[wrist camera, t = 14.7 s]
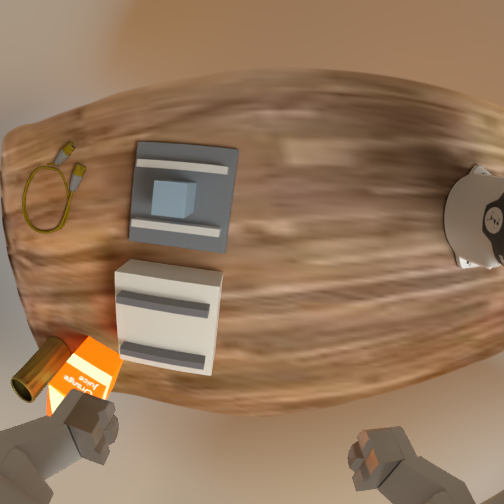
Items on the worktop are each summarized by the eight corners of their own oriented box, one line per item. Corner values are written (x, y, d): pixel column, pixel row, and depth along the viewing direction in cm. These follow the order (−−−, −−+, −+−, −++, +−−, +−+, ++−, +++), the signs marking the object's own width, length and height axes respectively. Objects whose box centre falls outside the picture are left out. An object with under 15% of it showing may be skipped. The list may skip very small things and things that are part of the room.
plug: (196, 182, 37) (187, 183, 31) (193, 212, 38) (184, 218, 32) (167, 179, 37) (154, 180, 31) (164, 209, 38) (151, 214, 32)
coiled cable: (101, 210, 39) (94, 211, 37) (35, 242, 40) (29, 244, 38) (81, 137, 36) (74, 136, 34) (18, 178, 37) (11, 179, 35)
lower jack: (239, 150, 37) (238, 148, 34) (225, 251, 41) (224, 257, 38) (140, 142, 36) (132, 140, 34) (131, 239, 40) (123, 243, 37)
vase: (49, 356, 45) (13, 396, 31) (45, 332, 44) (4, 370, 30) (72, 366, 46) (38, 410, 32) (69, 341, 44) (30, 384, 30)
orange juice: (125, 357, 45) (78, 437, 25) (114, 386, 47) (74, 461, 27) (88, 335, 44) (29, 404, 24) (80, 366, 46) (31, 433, 26)
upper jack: (223, 271, 41) (218, 293, 33) (214, 353, 45) (209, 384, 37) (131, 258, 40) (108, 276, 33) (132, 339, 44) (115, 366, 36)
